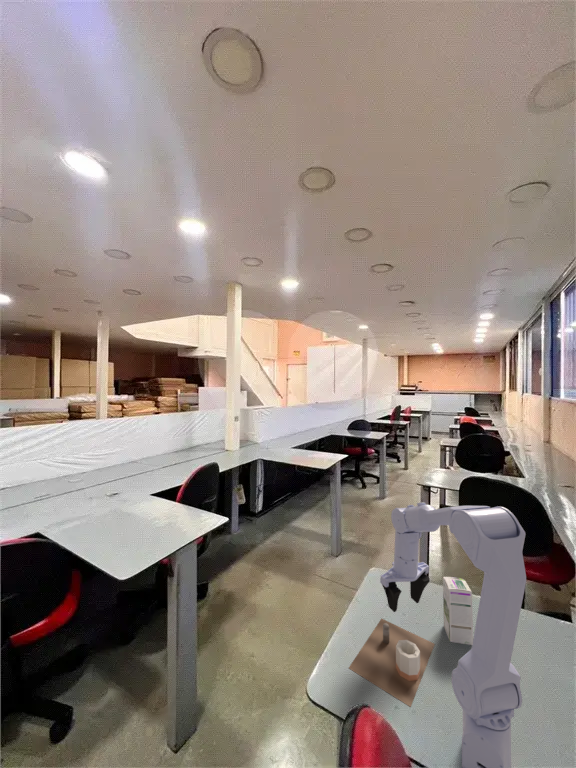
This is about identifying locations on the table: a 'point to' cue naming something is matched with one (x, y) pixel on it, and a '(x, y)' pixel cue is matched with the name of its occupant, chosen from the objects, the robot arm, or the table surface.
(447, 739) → the table surface
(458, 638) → the syrup box
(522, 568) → the robot arm
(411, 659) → the sleeve
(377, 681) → the pin board
